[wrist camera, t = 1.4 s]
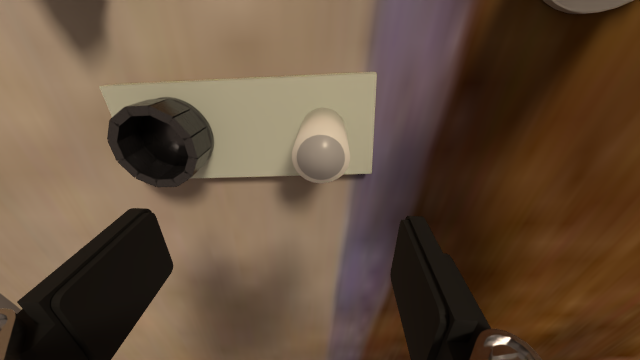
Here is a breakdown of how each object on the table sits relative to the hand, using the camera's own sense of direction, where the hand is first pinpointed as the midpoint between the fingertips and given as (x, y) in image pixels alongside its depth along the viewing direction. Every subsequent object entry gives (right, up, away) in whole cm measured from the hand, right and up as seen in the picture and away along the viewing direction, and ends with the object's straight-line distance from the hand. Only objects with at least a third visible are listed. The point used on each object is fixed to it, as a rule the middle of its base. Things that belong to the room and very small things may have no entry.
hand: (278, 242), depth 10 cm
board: (-6, +8, +17) cm, 20 cm away
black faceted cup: (-13, +7, +16) cm, 22 cm away
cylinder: (+2, +7, +16) cm, 17 cm away
